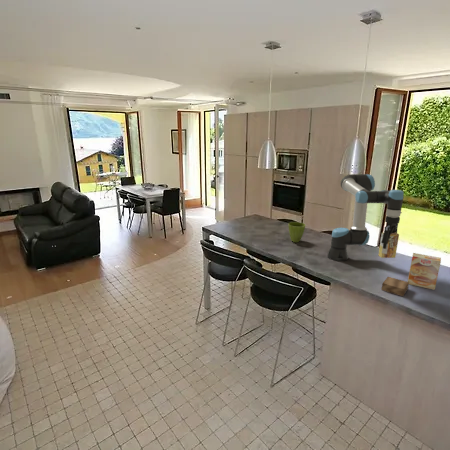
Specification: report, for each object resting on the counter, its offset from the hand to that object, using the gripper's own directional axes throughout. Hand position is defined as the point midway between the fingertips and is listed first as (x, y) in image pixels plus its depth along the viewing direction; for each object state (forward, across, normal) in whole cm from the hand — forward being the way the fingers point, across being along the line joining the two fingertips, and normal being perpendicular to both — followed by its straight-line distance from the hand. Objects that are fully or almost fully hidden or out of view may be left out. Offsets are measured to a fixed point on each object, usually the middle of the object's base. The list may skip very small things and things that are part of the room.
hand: (387, 251), depth 187 cm
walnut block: (+24, +1, -7) cm, 25 cm away
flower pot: (+22, +29, +89) cm, 96 cm away
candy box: (+4, 0, 0) cm, 4 cm away
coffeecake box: (+23, +20, -16) cm, 35 cm away
